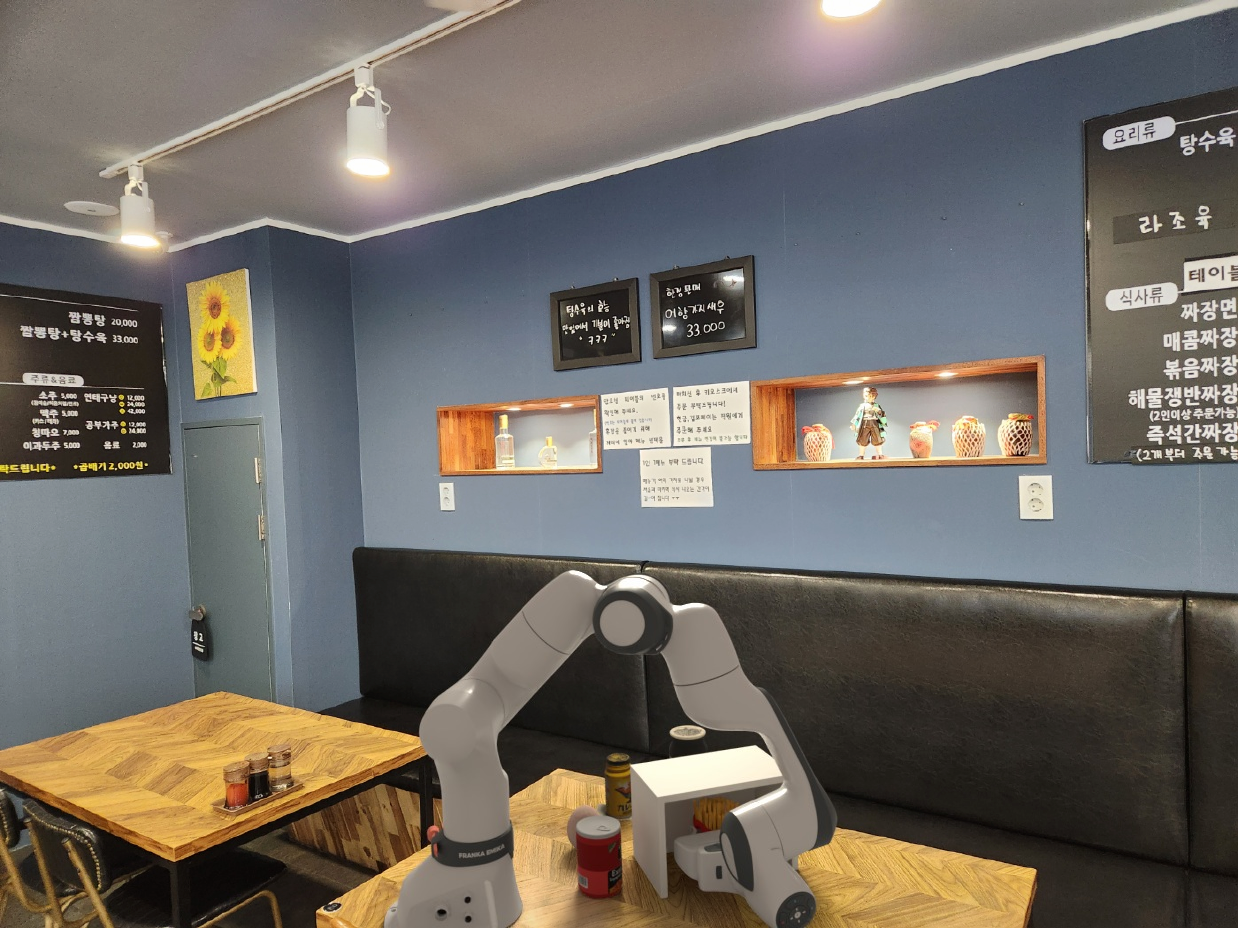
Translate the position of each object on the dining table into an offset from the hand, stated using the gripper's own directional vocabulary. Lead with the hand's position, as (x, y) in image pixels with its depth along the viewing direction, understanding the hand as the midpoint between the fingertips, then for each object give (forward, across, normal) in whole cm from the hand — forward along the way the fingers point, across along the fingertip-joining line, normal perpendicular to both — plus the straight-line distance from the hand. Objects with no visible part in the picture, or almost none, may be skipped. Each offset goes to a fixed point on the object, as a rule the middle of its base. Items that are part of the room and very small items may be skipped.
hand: (713, 825), depth 139 cm
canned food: (0, +22, +7) cm, 23 cm away
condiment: (+27, +11, +7) cm, 30 cm away
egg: (+14, +21, +7) cm, 26 cm away
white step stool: (0, 0, +7) cm, 7 cm away
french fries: (-1, 0, +7) cm, 7 cm away
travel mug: (+19, -3, +7) cm, 21 cm away
